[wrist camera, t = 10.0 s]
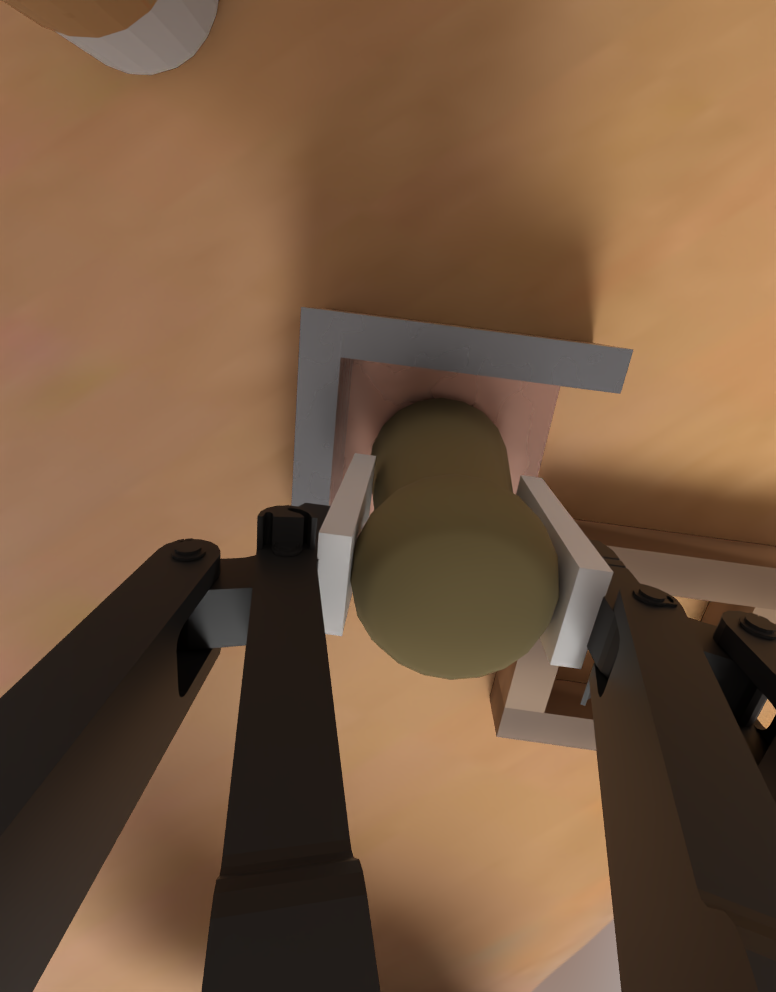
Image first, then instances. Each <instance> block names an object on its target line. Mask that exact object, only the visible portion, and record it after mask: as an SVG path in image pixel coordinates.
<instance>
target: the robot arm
mask: <svg viewBox="0 0 776 992" xmlns="http://www.w3.org/2000/svg"><path fill="white" fill-rule="evenodd" d="M375 461H376V456H373V455H365V454H358V453H355V454H354V456H353V459H352V461H351V463H350V465H349V467H348V470H347V472H346V474H345V476H344V478H343V481H342V483H341V485H340V487H339V489H338V491H337V494H336V496H335V498H334V500H333V502H332V505H331V506H327V505H320V504H312V503H304V504H302V505H300V506H289V505H285V506H274V507H270V508H266V509H264V510H263V511H261V512H260V513H259V515H258V520H257V553H256V555H255V556H250V557H246V558H232V559H220V549H219V548H218V546H217V545H215V544H213V543H212V542H209V541H205V540H199V539H185V540H184V539H181V540H177V541H175V542H172V543H168V544H166V545H164V546H163V547H161V548H159V549H158V550H157V551H156V552H155V553H154V554H153V555H152V556H151V557H150V558H148V559H147V560H146V561H145V562H144V563H143V564H142V565H141V566H140V567H139V568H138V569H137V570H136V571H135V572H134V573H133V574H131V575H130V576H129V577H128V578H127V579H126V580H125V581H124V582H123V583H122V584H121V585H120V586H119V587H118V588H117V589H116V590H115V591H113V592H112V593H111V594H110V595H109V596H108V597H107V598H106V599H105V600H104V601H103V602H102V603H101V604H100V605H99V606H98V607H97V608H95V609H94V610H93V611H92V612H91V613H90V614H89V615H88V616H87V617H86V618H85V619H84V620H83V621H82V622H81V623H80V624H78V625H77V626H76V627H75V628H74V629H73V630H72V631H71V632H70V633H69V634H68V635H67V636H66V637H65V638H64V639H63V640H62V641H60V642H59V643H58V644H57V645H56V646H55V647H54V648H53V649H52V650H51V651H50V652H49V653H48V654H47V655H46V656H45V657H44V658H42V659H41V660H40V661H39V662H38V663H37V664H36V665H35V666H34V667H33V668H32V669H31V670H30V671H29V672H28V673H27V674H25V675H24V676H23V677H22V678H21V679H20V680H19V681H18V682H17V683H16V684H15V685H14V686H13V687H12V688H11V689H10V690H9V691H7V692H6V693H5V694H4V695H3V696H2V697H1V698H0V992H33V990H34V988H35V986H36V985H37V983H38V981H39V979H40V977H41V976H42V974H43V972H44V970H45V968H46V967H47V965H48V963H49V961H50V959H51V958H52V956H53V954H54V952H55V950H56V948H57V947H58V945H59V943H60V941H61V939H62V938H63V936H64V934H65V932H66V930H67V929H68V927H69V925H70V923H71V921H72V920H73V918H74V916H75V914H76V912H77V911H78V909H79V907H80V905H81V903H82V901H83V900H84V898H85V896H86V894H87V892H88V891H89V889H90V887H91V885H92V883H93V882H94V880H95V878H96V876H97V874H98V873H99V871H100V869H101V867H102V865H103V864H104V862H105V860H106V858H107V856H108V855H109V853H110V851H111V849H112V847H113V845H114V844H115V842H116V840H117V838H118V836H119V835H120V833H121V831H122V829H123V827H124V826H125V824H126V822H127V820H128V818H129V817H130V815H131V813H132V811H133V809H134V808H135V806H136V804H137V802H138V800H139V799H140V797H141V795H142V793H143V791H144V789H145V788H146V786H147V784H148V782H149V780H150V779H151V777H152V775H153V773H154V771H155V770H156V768H157V766H158V764H159V762H160V761H161V759H162V757H163V755H164V753H165V752H166V750H167V748H168V746H169V744H170V742H171V741H172V739H173V737H174V735H175V733H176V732H177V730H178V728H179V726H180V724H181V723H182V721H183V719H184V717H185V715H186V714H187V712H188V710H189V708H190V706H191V705H192V703H193V701H194V699H195V697H196V696H197V694H198V692H199V690H200V688H201V686H202V685H203V683H204V681H205V679H206V677H207V676H208V674H209V672H210V670H211V668H212V667H213V665H214V663H215V661H216V659H217V658H218V656H219V654H220V650H221V647H231V646H242V645H246V651H245V660H244V669H243V678H242V687H241V696H240V705H239V714H238V723H237V732H236V741H235V750H234V759H233V768H232V777H231V786H230V794H229V803H228V812H227V821H226V830H225V839H224V848H223V857H222V865H221V871H220V876H219V877H218V878H217V880H216V885H215V890H214V896H213V903H212V910H211V918H210V926H209V934H208V942H207V951H206V959H205V967H204V976H203V984H202V992H380V986H379V979H378V972H377V965H376V957H375V950H374V943H373V935H372V928H371V921H370V914H369V906H368V899H367V892H366V887H365V881H364V875H363V870H362V867H361V864H360V861H359V859H357V858H354V857H353V854H352V850H351V844H350V837H349V828H348V820H347V812H346V803H345V795H344V787H343V778H342V770H341V762H340V753H339V745H338V737H337V728H336V720H335V712H334V703H333V695H332V687H331V678H330V670H329V662H328V653H327V645H326V637H325V634H330V635H338V636H342V634H343V630H344V625H345V621H346V617H347V613H348V608H349V604H350V600H351V596H352V587H351V582H350V579H351V570H352V562H353V554H354V547H355V544H356V541H357V538H358V536H359V534H360V533H361V531H362V529H363V527H364V525H365V524H366V522H367V520H368V518H369V514H370V505H371V496H372V488H373V479H374V470H375ZM516 495H518V496H519V497H520V498H521V499H522V500H523V501H524V502H525V503H526V504H527V506H528V507H529V508H530V509H531V510H532V511H533V512H534V513H535V514H536V515H537V516H538V517H539V518H540V520H541V521H542V523H543V524H544V526H545V527H546V530H547V532H548V534H549V537H550V539H551V541H552V544H553V546H554V548H555V551H556V553H557V556H558V574H559V599H558V602H557V605H556V607H555V610H554V613H553V616H552V619H551V622H550V624H549V626H548V627H547V629H546V630H545V632H544V633H543V634H542V635H541V637H540V639H541V642H542V645H543V647H544V650H545V653H546V655H547V658H548V661H549V663H550V665H555V666H563V667H570V668H577V669H581V668H582V665H583V662H584V659H585V656H586V653H587V650H589V652H590V654H591V656H592V658H593V660H594V665H593V667H592V670H591V673H590V676H589V679H588V682H587V685H586V688H585V690H584V693H583V696H582V700H581V705H584V706H585V705H586V702H587V700H588V699H590V698H591V703H592V713H593V722H594V732H595V742H596V751H597V761H598V770H599V780H600V790H601V799H602V809H603V818H604V828H605V837H606V847H607V857H608V866H609V876H610V885H611V895H612V905H613V914H614V923H615V933H616V942H617V953H618V962H619V971H620V981H621V991H622V992H776V715H775V717H774V719H773V721H772V722H771V724H770V726H769V727H768V728H767V729H766V728H764V727H763V726H762V724H761V723H760V722H759V721H758V720H757V717H758V715H759V714H760V712H761V710H762V708H763V706H764V704H765V702H766V700H767V699H768V700H769V701H770V702H771V703H772V705H773V706H774V708H775V709H776V624H774V623H772V622H770V621H769V620H768V619H767V618H765V617H762V616H760V615H759V616H758V615H757V614H754V613H746V612H742V611H730V610H729V611H726V612H724V613H723V614H722V616H721V618H720V620H719V623H718V625H717V626H715V625H711V624H708V623H704V622H701V621H698V620H694V619H691V618H688V617H687V615H686V613H685V611H684V609H683V607H682V605H681V604H680V603H679V602H678V601H677V600H676V599H675V598H674V597H673V596H671V595H669V594H668V593H666V592H664V591H662V590H660V589H658V588H655V587H652V586H649V585H645V584H640V583H639V582H638V580H637V579H636V578H635V577H634V575H633V574H632V573H631V572H630V571H629V569H628V568H626V566H625V565H624V563H623V562H622V561H620V559H619V557H618V556H617V555H616V554H615V552H614V551H613V550H612V549H610V548H609V547H607V546H606V545H604V544H603V543H601V542H600V541H598V540H590V539H588V538H587V537H586V535H585V534H584V533H583V531H582V530H581V529H580V527H579V526H578V525H577V523H576V522H575V521H574V520H573V518H572V517H571V516H570V514H569V513H568V512H567V510H566V509H565V508H564V506H563V505H562V504H561V502H560V501H559V500H558V498H557V497H556V496H555V494H554V493H553V492H552V491H551V489H550V488H549V487H548V485H547V484H546V483H545V481H544V480H543V479H542V478H539V477H531V476H523V475H521V476H520V480H519V484H518V488H517V493H516Z"/></svg>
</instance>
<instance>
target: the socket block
mask: <svg viewBox="0 0 776 992" xmlns="http://www.w3.org/2000/svg"><path fill="white" fill-rule="evenodd" d="M573 520H574V521H575V522H576V523H577V525H578V526H579V527H580V529H581V530H582V531H583V533H584V534H585V535H586V537H587V538H588V539H590V540H598V541H600V542H601V543H603V544H604V545H606V546H607V547H609V548H610V549H612V550H613V551H614V552H615V554H616V555H617V556H618V557H619V559H620V561H622V562H623V563H624V565H625V566H626V568H628V569H629V571H630V572H631V573H632V574H633V575H634V577H635V578H636V579H637V580H638V582H639V583H640V584H645V585H649V586H652V587H655V588H658V589H660V590H662V591H664V592H666V593H668V594H669V595H671V596H676V597H684V598H691V599H699V600H706V601H710V602H709V604H708V607H707V609H706V611H705V614H704V616H703V618H702V620H701V622H704V623H708V624H711V625H715V626H717V625H718V623H719V620H720V618H721V616H722V614H723V613H724V612H726V611H729V610H730V611H742V612H746V613H754V614H757V615H758V616H759V615H760V616H762V617H765V618H767V619H768V620H769V621H770V622H772V623H774V624H776V546H770V545H762V544H755V543H747V542H740V541H732V540H725V539H718V538H710V537H703V536H695V535H688V534H680V533H673V532H665V531H658V530H650V529H643V528H635V527H628V526H620V525H613V524H605V523H598V522H591V521H583V520H576V519H573ZM558 667H559V666H555V665H550V663H549V661H548V658H547V655H546V653H545V650H544V647H543V645H542V642H541V639H540V638H539V639H538V640H537V642H536V643H535V644H534V646H533V647H532V648H531V649H530V651H529V652H528V653H527V654H525V655H524V656H523V657H521V658H520V659H518V660H517V661H515V662H514V663H512V664H511V665H509V666H508V667H506V668H505V669H502V670H499V671H497V672H496V676H495V680H494V684H493V688H492V692H491V696H490V703H491V709H492V714H493V720H494V725H495V730H496V736H497V737H502V738H509V739H516V740H524V741H531V742H538V743H545V744H552V745H559V746H566V747H573V748H581V749H588V750H595V751H596V742H595V732H594V722H593V713H592V703H591V698H590V699H588V700H587V702H586V705H585V706H584V705H581V700H582V696H583V693H584V690H585V688H586V685H587V684H585V683H578V682H571V681H563V680H556V679H555V677H556V674H557V670H558Z"/></svg>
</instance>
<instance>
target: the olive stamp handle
mask: <svg viewBox="0 0 776 992" xmlns="http://www.w3.org/2000/svg"><path fill="white" fill-rule="evenodd" d="M371 455H373V456H376V461H375V470H374V479H373V488H372V496H373V505H374V511H373V512H372V513H371V515H370V516H369V518H368V520H367V522H366V524H365V525H364V527H363V529H362V531H361V533H360V534H359V536H358V538H357V541H356V544H355V547H354V554H353V562H352V570H351V579H350V582H351V587H352V592H353V597H354V602H355V606H356V611H357V616H358V618H359V619H360V621H361V622H362V624H363V626H364V627H365V629H366V631H367V632H368V634H369V636H370V637H371V639H372V640H373V641H374V642H375V643H376V644H377V645H378V646H379V647H380V648H381V649H383V650H384V651H385V652H386V653H387V654H388V655H390V656H391V657H392V658H393V659H394V660H395V661H396V662H398V663H399V664H401V665H403V666H405V667H407V668H410V669H412V670H414V671H416V672H418V673H420V674H423V675H427V676H433V677H438V678H444V679H450V680H453V679H466V678H479V677H482V676H484V675H487V674H490V673H493V672H496V671H499V670H502V669H505V668H506V667H508V666H509V665H511V664H512V663H514V662H515V661H517V660H518V659H520V658H521V657H523V656H524V655H525V654H527V653H528V652H529V651H530V649H531V648H532V647H533V646H534V644H535V643H536V642H537V640H538V639H539V638H540V637H541V635H542V634H543V633H544V632H545V630H546V629H547V627H548V626H549V624H550V622H551V619H552V616H553V613H554V610H555V607H556V605H557V602H558V599H559V574H558V556H557V553H556V551H555V548H554V546H553V544H552V541H551V539H550V537H549V534H548V532H547V530H546V527H545V526H544V524H543V523H542V521H541V520H540V518H539V517H538V516H537V515H536V514H535V513H534V512H533V511H532V510H531V509H530V508H529V507H528V506H527V504H526V503H525V502H524V501H523V500H522V499H521V498H520V497H519V496H518V495H516V494H514V493H513V488H512V481H511V475H510V468H509V462H508V455H507V449H506V446H505V444H504V441H503V439H502V437H501V434H500V432H499V430H498V428H497V427H496V426H495V425H494V423H493V422H492V421H491V420H490V419H489V418H488V417H487V416H486V415H485V414H484V413H483V412H482V411H480V410H478V409H476V408H474V407H473V406H471V405H469V404H467V403H465V402H463V401H457V400H451V399H446V398H436V399H429V400H422V401H417V402H415V403H413V404H411V405H409V406H407V407H405V408H403V409H401V410H399V411H398V412H397V413H396V414H394V415H393V416H392V417H391V418H390V419H389V420H388V421H387V422H386V423H385V424H384V425H383V426H382V428H381V430H380V432H379V434H378V436H377V438H376V439H375V441H374V443H373V445H372V452H371Z"/></svg>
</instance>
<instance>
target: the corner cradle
mask: <svg viewBox="0 0 776 992" xmlns="http://www.w3.org/2000/svg"><path fill="white" fill-rule="evenodd" d="M632 353H633V350H632V349H626V348H620V347H614V346H608V345H602V344H596V343H589V342H581V341H573V340H565V339H558V338H550V337H542V336H534V335H527V334H519V333H511V332H503V331H496V330H488V329H480V328H472V327H465V326H457V325H449V324H441V323H433V322H426V321H418V320H410V319H402V318H395V317H387V316H379V315H371V314H364V313H356V312H348V311H340V310H333V309H325V308H310V307H301V322H300V342H299V363H298V383H297V404H296V424H295V445H294V465H293V486H292V506H300V505H302V504H304V503H312V504H320V505H327V506H331V505H332V502H333V500H334V498H335V496H336V494H337V491H338V489H339V487H340V485H341V483H342V481H343V478H344V476H345V474H346V472H347V470H348V467H349V465H350V463H351V461H352V459H353V456H354V454H355V453H358V454H365V455H371V452H372V445H373V443H374V441H375V439H376V438H377V436H378V434H379V432H380V430H381V428H382V426H383V425H384V424H385V423H386V422H387V421H388V420H389V419H390V418H391V417H392V416H393V415H394V414H396V413H397V412H398V411H399V410H401V409H403V408H405V407H407V406H409V405H411V404H413V403H415V402H417V401H422V400H429V399H436V398H446V399H451V400H457V401H463V402H465V403H467V404H469V405H471V406H473V407H474V408H476V409H478V410H480V411H482V412H483V413H484V414H485V415H486V416H487V417H488V418H489V419H490V420H491V421H492V422H493V423H494V425H495V426H496V427H497V428H498V430H499V432H500V434H501V437H502V439H503V441H504V444H505V446H506V449H507V455H508V462H509V468H510V475H511V481H512V488H513V493H514V494H516V493H517V488H518V484H519V480H520V476H521V475H523V476H531V477H538V474H539V469H540V465H541V461H542V457H543V453H544V449H545V445H546V441H547V437H548V433H549V429H550V425H551V421H552V417H553V413H554V409H555V405H556V401H557V397H558V393H559V389H560V386H565V387H573V388H580V389H588V390H596V391H604V392H611V393H619V394H620V393H621V390H622V386H623V383H624V380H625V376H626V373H627V370H628V366H629V363H630V359H631V356H632ZM373 511H374V505H373V496H371V505H370V514H369V516H370V515H371V513H372V512H373Z"/></svg>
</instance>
